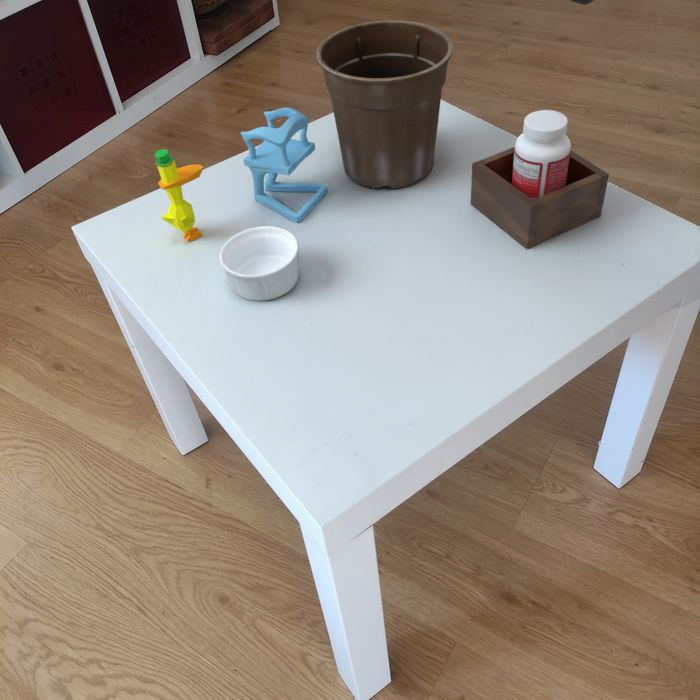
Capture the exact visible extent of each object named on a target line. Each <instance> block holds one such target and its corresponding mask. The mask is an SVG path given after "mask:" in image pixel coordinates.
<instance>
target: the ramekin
mask: <svg viewBox="0 0 700 700" xmlns="http://www.w3.org/2000/svg"><path fill="white" fill-rule="evenodd" d="M299 247H300V246H299V242H298V239H297V238H296V236H295V234H294V233H292V232H291V231H289V230H287V229H285V228H282V227H279V226H271V225H261V226H255V227H251V228H247V229H244V230H241V231H239V232H237V233H236V234H234V235H233V236H231V237H230V238H228V240H226V242H225V243H224V244H223V245H222V247H221V249H220V252H219V255H218V259H219V263H220V265H221V267H222V269H223V270H224V272H225V274H226V277H227V279H228V282H229V284H230V285H231V286H230V287H231V289H232V290H233V291H234V292H235V294H236V295H238V296H239V297H241V298H243V299H246V300H250V301H257V302H258V301H261V302H263V301H269V300H273V299H277V298H280V297H282V296H283V295H285V294H287V293H288V292H290V291H291V290H292V289H293V288H294V287H295V286H296V284H297V283H298V280H299V276H300V263H299Z"/></svg>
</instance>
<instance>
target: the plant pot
mask: <svg viewBox="0 0 700 700" xmlns="http://www.w3.org/2000/svg"><path fill="white" fill-rule="evenodd" d="M453 49H454V43H453V40H452V39H451V38H450V36H449V35H448V34H447V33H446V32H444V31H442V30H441V29H439V28H437V27H434V26H432V25H429V24H426V23H422V22H417V21H411V20H410V21H409V20H376V21H367V22H363V23H357V24H354V25H350V26H347V27H345V28H342V29H340V30H338V31H336V32H334V33H332V34H331V35H329V36H327V37H326V38H325V39H324V40H323V41H322V42H321V43H320V45H319V46H318V47H317V49H316V59H317V63H318V65H319V66H320V68H321V69H322V73H323V77H324V78H323V79H324V82H325V83H324V84H325V87H326V89H327V91H328V93H329V95H330V96H329V97H330V100H331V107H332V111H333V117H334V122H335V127H336V131H337V138H338V144H339V149H340V154H341V159H342V165H343V170H344V172H345V174H346V176H347V177H348V178H350V180H352V181H353V182H354V183H357V184H358V185H361V186H363V187H367V188H370V189H376V190H378V189H381V188H382V187H389V188H391V189H395V190H396V189H402V188H405V187H408V186H411V185H414V184H417V183H418V182H420V181H422V180H423V179H424V178H426V177H427V176H428V175H429V174H430V173H431V172H432V170H433V168H434V164H435V163H434V162H435V153H436V146H437V145H436V143H437V134H438V127H439V117H440V108H441V102H442V101H441V99H442V91H443V87H444V85H445V83H446V79H447V72H448V64H449V60H450V59H451V57H452V56H453V51H454V50H453Z"/></svg>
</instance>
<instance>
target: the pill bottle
mask: <svg viewBox="0 0 700 700" xmlns="http://www.w3.org/2000/svg"><path fill="white" fill-rule="evenodd" d="M568 121H569V120H568V117H567V116H566V115H565V114H564V113H562V112H560V111H557V110H553V109H551V110H550V109H542V110H541V109H540V110H535V111H533V112H531V113H528V114H527V115H526V116H525V117H524V120H523V127H522V133H521V134H520V135H519V136H518V137H517V138H516V141H515V144H514V147H515V151H514V163H513V175H512V185H513V186H514V187H515V188H517V189H518V190H520V191H521V192H522V193H524V194H525V195H526V196H528V197H529V198H531V199H532V200H534V199H537V198H539V197H541V196H544V195H546V194H549V193H551V192H553V191H556V190H558V189H560V188H563V187H565V185H566V178H567V171H568V164H569V157H570V150H571V149H572V148H571V147H572V145H571V144H572V143H571V141H570V138H569V137H568V135H567V131H568Z"/></svg>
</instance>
